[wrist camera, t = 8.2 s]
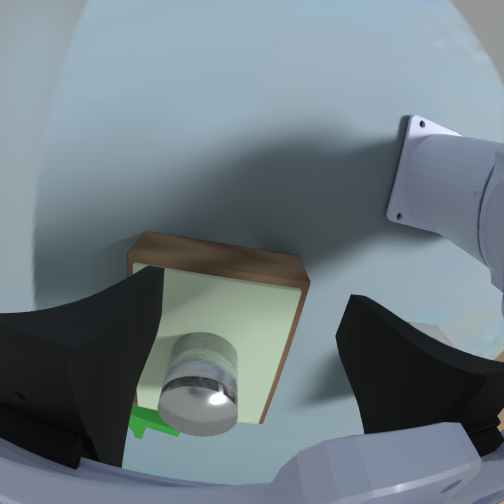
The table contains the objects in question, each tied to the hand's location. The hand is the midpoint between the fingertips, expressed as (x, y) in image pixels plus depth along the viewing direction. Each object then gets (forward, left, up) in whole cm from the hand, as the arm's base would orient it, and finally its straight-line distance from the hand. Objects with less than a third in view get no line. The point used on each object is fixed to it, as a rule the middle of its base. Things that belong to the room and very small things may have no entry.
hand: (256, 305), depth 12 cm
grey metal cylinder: (+2, +8, -6) cm, 10 cm away
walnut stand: (+2, +9, -10) cm, 14 cm away
